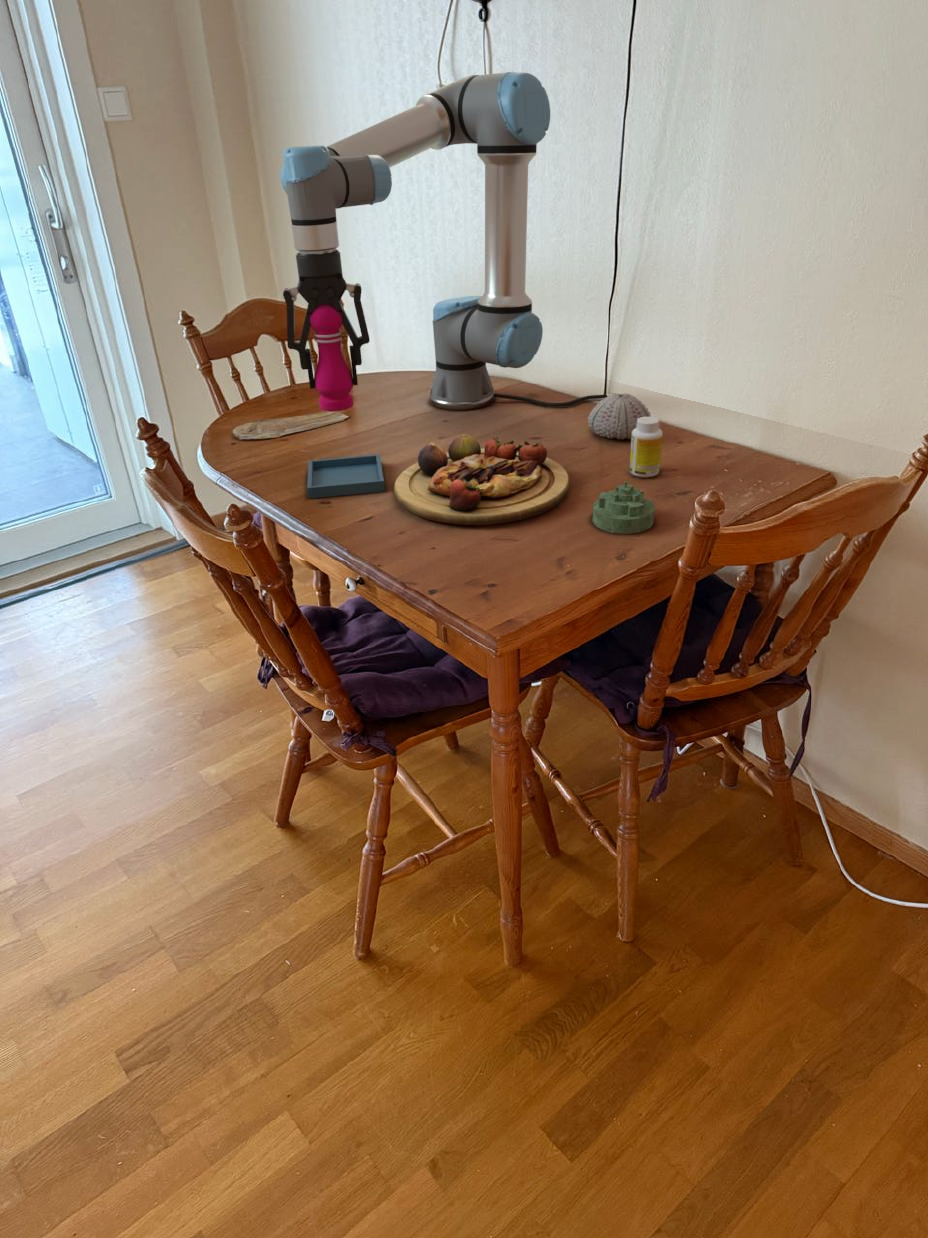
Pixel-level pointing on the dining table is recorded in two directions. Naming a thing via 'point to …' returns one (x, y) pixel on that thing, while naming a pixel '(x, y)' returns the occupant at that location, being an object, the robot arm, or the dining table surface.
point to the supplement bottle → (646, 447)
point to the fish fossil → (286, 425)
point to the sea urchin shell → (617, 416)
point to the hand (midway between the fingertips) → (334, 384)
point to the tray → (345, 476)
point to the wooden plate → (481, 482)
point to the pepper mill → (331, 361)
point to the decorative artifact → (623, 511)
